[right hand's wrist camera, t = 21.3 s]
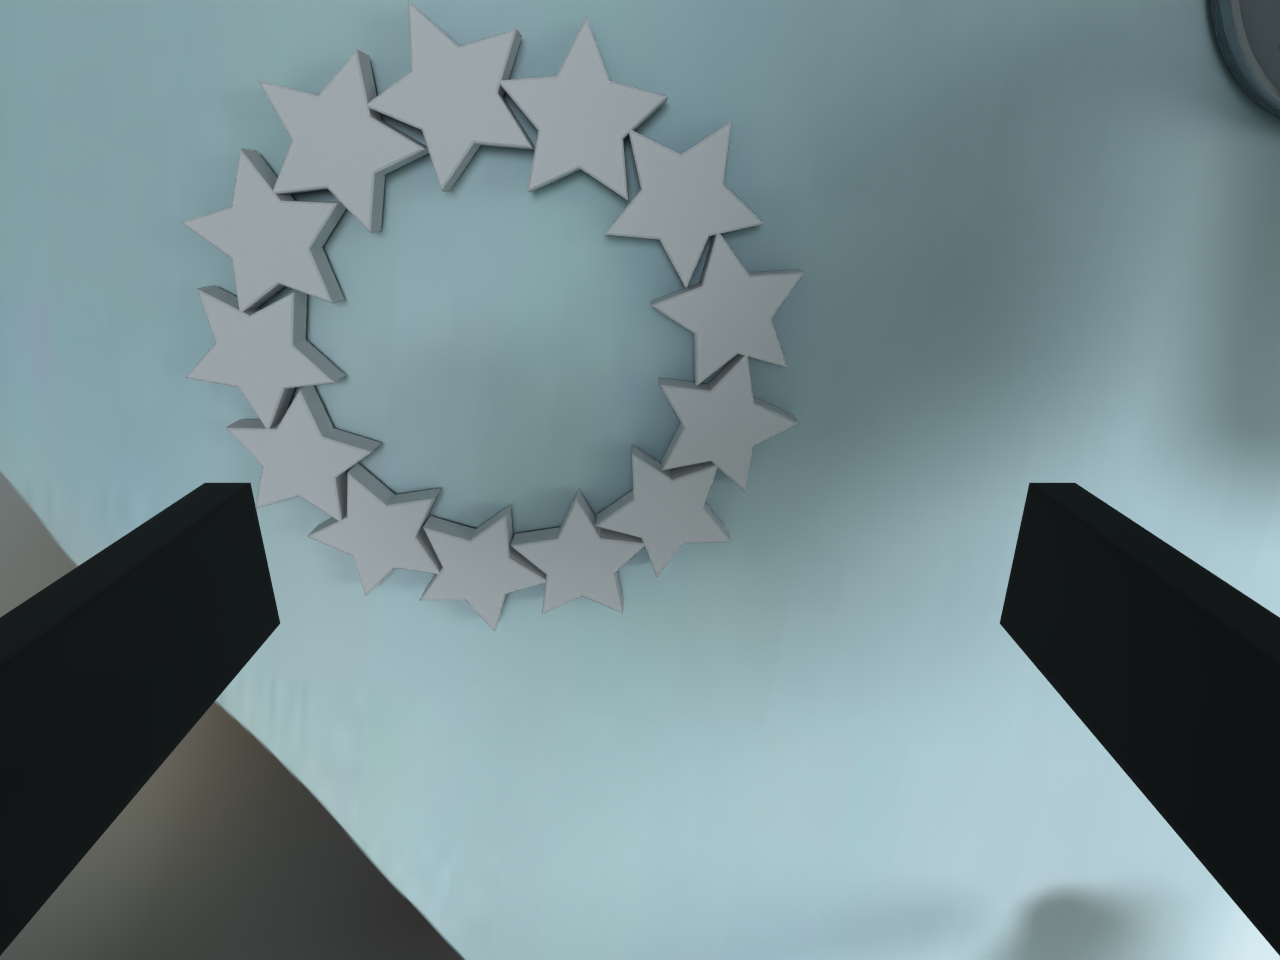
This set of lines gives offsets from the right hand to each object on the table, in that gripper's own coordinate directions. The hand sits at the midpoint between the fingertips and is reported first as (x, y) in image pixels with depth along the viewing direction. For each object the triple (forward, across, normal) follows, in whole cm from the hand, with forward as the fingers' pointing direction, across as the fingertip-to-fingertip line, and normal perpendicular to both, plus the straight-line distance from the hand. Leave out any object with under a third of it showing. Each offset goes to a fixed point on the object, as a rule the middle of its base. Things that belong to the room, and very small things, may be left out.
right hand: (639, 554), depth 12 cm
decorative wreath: (+25, -7, -2) cm, 26 cm away
